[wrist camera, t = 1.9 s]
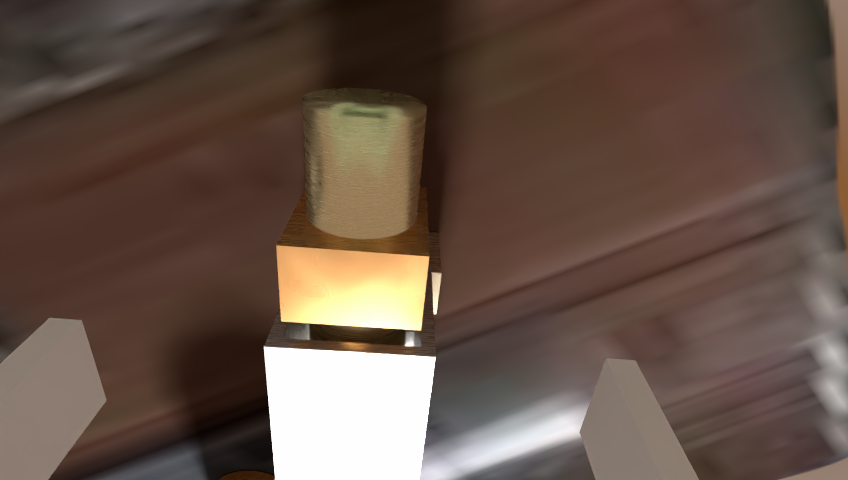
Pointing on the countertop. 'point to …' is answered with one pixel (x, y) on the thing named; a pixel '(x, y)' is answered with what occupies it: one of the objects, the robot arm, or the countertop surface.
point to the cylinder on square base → (358, 219)
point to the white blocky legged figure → (351, 398)
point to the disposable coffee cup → (247, 476)
